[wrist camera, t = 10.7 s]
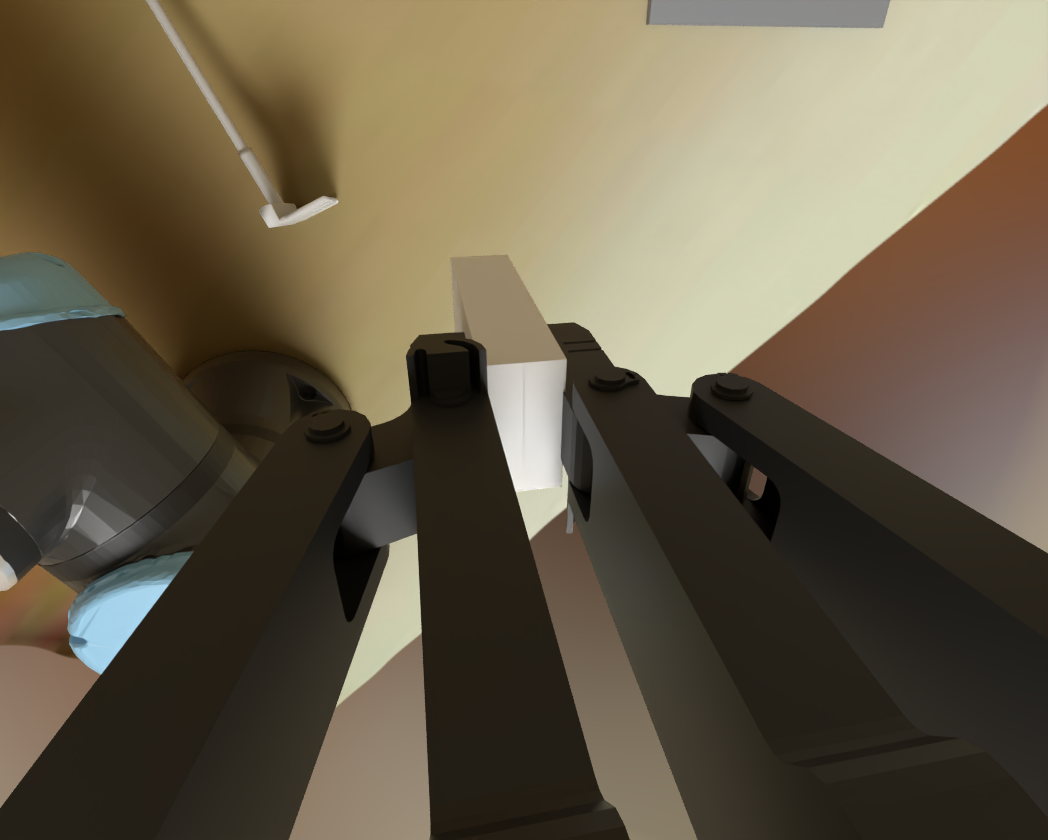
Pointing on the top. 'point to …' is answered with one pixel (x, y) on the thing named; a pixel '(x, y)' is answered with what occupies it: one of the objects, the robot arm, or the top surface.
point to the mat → (769, 13)
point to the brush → (276, 209)
